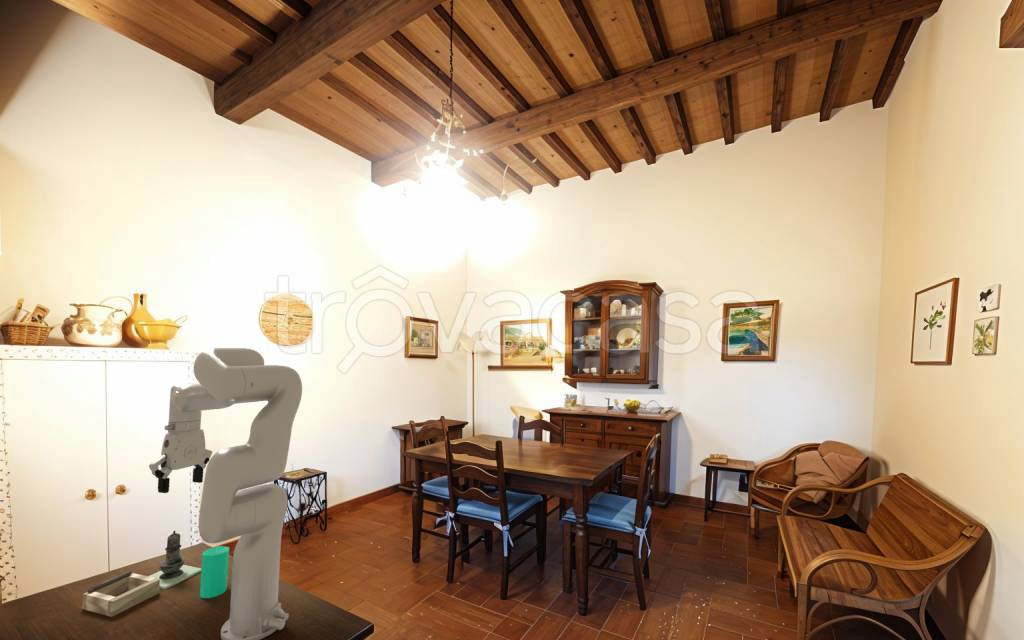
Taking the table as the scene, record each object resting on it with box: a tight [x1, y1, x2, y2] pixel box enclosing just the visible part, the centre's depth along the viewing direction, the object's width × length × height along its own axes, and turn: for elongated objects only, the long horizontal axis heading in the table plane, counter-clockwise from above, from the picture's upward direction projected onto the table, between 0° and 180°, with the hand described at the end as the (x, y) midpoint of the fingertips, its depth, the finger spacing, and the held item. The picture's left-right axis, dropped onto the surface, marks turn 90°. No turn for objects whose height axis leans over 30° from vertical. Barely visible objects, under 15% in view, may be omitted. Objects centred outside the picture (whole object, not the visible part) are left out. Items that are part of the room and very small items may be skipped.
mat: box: [147, 564, 202, 590], centre depth 120 cm, size 10×10×1 cm
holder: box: [81, 570, 160, 618], centre depth 108 cm, size 10×10×4 cm
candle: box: [199, 544, 230, 599], centre depth 113 cm, size 6×6×12 cm
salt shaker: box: [158, 530, 186, 580], centre depth 120 cm, size 6×6×12 cm
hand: (181, 487), depth 123 cm, fingers open, 9 cm apart
